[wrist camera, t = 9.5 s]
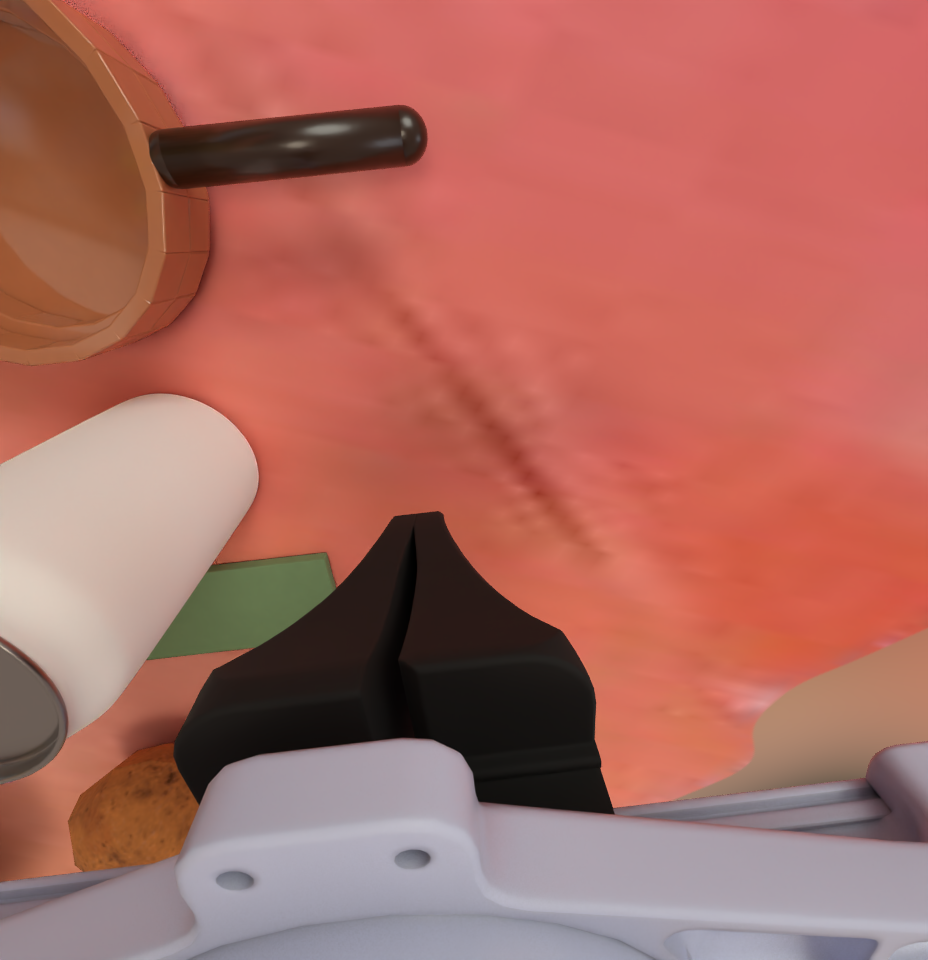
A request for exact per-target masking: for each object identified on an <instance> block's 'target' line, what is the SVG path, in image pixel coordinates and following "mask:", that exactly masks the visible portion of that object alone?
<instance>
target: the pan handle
mask: <svg viewBox="0 0 928 960" xmlns="http://www.w3.org/2000/svg"><path fill="white" fill-rule="evenodd" d="M427 140H428V139H427V129H426V126H425V123H424V121H423V119H422V117H421V116H420V115H419V114H418V112H416V111H415V110H414V109H412V108H411V107H409V106H405V105H393V106H383V107H374V108H364V109H354V110H344V111H334V112H324V113H314V114H305V115H295V116H285V117H275V118H265V119H255V120H245V121H235V122H226V123H216V124H206V125H196V126H186V127H176V128H166V129H160V130H156V131H155V132H153V133H151V135H150V137H149V154H150V158H151V161H152V163H153V164H154V166H155V168H156V169H157V171H158V173H159V174H160V176H161V177H162V179H163V180H164V181H165V183H166V184H167V185H169V186H170V187H173V188H176V189H191V188H201V187H211V186H220V185H230V184H240V183H249V182H259V181H269V180H279V179H288V178H298V177H308V176H317V175H327V174H337V173H347V172H356V171H366V170H376V169H385V168H395V167H405V166H410V165H413V164H415V163H416V162H417V161H419V160H420V158H421V157H422V156H423V154H424V152H425V150H426V147H427Z"/></svg>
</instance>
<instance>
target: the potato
mask: <svg viewBox="0 0 928 960" xmlns="http://www.w3.org/2000/svg"><path fill="white" fill-rule="evenodd" d="M173 753H174V743H168V744H163V745H159V746H155V747H151V748H147V749H143V750H139V751H136V752H135V753H134V754H132V755H131V756H130V757H129V758H127V759H126V760H125V761H123V762H122V763H121V764H120V765H118V766H117V767H116V768H114V769H113V770H112V771H111V772H109V773H108V774H107V775H105V776H104V777H103V778H102V779H100V780H99V781H98V782H96V783H95V784H94V785H93V786H91V787H90V788H89V789H87V790H86V791H85V792H84V793H82V794H81V795H80V797H79V799H78V801H77V803H76V805H75V807H74V809H73V812H72V814H71V816H70V818H69V820H68V824H69V830H70V836H71V842H72V849H73V855H74V862H75V866H77V867H78V868H79V869H81V870H82V871H83V872H87V871H95V870H104V869H112V868H120V867H129V866H137V865H145V864H153V863H156V862H159V861H162V860H164V859H167V858H170V857H173V856H175V855H178V854H180V851H181V849H182V847H183V844H184V842H185V839H186V837H187V835H188V832H189V830H190V827H191V825H192V823H193V820H194V818H195V815H196V813H197V811H198V808H199V804H198V803H197V801H196V799H195V798H194V796H193V794H192V793H191V791H190V789H189V787H188V786H187V784H186V782H185V781H184V779H183V777H182V775H181V774H180V772H179V770H178V768H177V765H176V762H175V760H174V757H173Z"/></svg>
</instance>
